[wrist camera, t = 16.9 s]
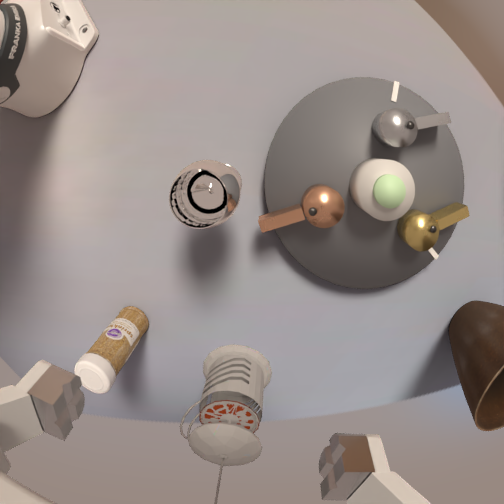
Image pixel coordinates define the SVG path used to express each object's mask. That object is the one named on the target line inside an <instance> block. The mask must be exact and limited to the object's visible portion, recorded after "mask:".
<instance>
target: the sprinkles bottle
mask: <svg viewBox="0 0 504 504" xmlns="http://www.w3.org/2000/svg"><path fill="white" fill-rule="evenodd" d="M148 325H149V323H148V319H147V317H146V315H145V314H144V313H143V312H142V311H141V310H139V309H137V308H136V307H131V306H129V307H125V308H123V309H122V310H121V311H120V313H119V315H118V316H117V317H116V318H115V319H114V320H113V321H112V322H111V323H110V324H109V326H108V327H107V328H106V329H105V330H104V332H103V333H102V334H101V336H100V337H99V338H98V340H97V341H96V342H95V343H94V345H93V346H92V347H91V348H90V349H89V351H88V352H87V353H85V354H84V355H83V356H82V357H81V358H80V359H79V361H78V362H77V363H76V365H75V369H74V370H75V375H77V376H79V377H81V382H82V385H83V386H84V387H85V388H86V389H88V390H90V391H92V392H94V393H98V394H103V393H106V392H108V391H109V389H110V388H111V387H112V385H113V383H114V382H115V379H116V376H117V374H118V373H119V371H120V369H121V368H122V366H124V364H125V363H126V361H127V360H128V358H129V357H130V355H131V354H132V352H133V350H134V349H135V347H136V346H137V344H138V343H139V341H140V338H141V337H142V335H143V334H144V333H145V332H146V330H147V329H148Z"/></svg>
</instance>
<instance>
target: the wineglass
mask: <svg viewBox="0 0 504 504" xmlns="http://www.w3.org/2000/svg"><path fill="white" fill-rule="evenodd" d="M241 187H242V180H241V177H240V174H239V173H238V171H237V170H236V169H235V168H234V167H232V166H231V165H228V164H223V163H221V162H218V161H214V160H201V161H196V162H194V163H192V164H190V165H188V166H187V167H185V168H184V169H183V170H182V171H181V172H180V173H179V174H178V175H177V177H176V178H175V180H174V181H173V183H172V186H171V189H170V194H169V204H170V208H171V210H172V213H173V214H174V216H175V217H176V218H177V219H178V221H180V222H181V223H182V224H184V225H186V226H188V227H190V228H194V229H208V228H213V227H216V226H218V225H220V224H222V223H224V222H225V221H227V220H228V219H229V218H230V217H231V216H232V215H233V213H234V212H235V211H236V209H237V207H238V204H239V201H240V190H241Z"/></svg>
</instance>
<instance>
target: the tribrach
mask: <svg viewBox="0 0 504 504" xmlns="http://www.w3.org/2000/svg"><path fill="white" fill-rule="evenodd" d="M393 108H402V109H405V110H407V111H408V112H409V113H411V114H412V116H413V117H414V118H417V117H422V116H428V115H433V114H439V113H438V112H437V111H436V110H435V109H434V108H433V107H432V106H431V105H430V104H429V103H428V102H427V101H425V100H424V99H423V98H422V97H421V96H419V95H418V94H416V93H414V92H413V91H411V90H410V89H408V88H406V87H403V86H401V85H399V82H396V81H394V82H390V81H387V80H383V79H377V78H370V77H356V78H349V79H342V80H339V81H336V82H332V83H329V84H327V85H325V86H323V87H321V88H319V89H316V90H315V91H313V92H312V93H310V94H309V95H307V96H306V97H304V98H303V99H302V100H301V101H300V102H299V103H298V104H297V105H296V106H294V107H293V109H292V110H291V111H290V112H289V113H288V115H287V116H286V117H285V118H284V120H283V122H282V123H281V125H280V126H279V128H278V130H277V132H276V134H275V136H274V138H273V141H272V143H271V146H270V149H269V153H268V156H267V161H266V168H265V196H266V204H267V208H268V211H269V213H271V212H274V211H277V210H280V209H283V208H287V207H290V206H293V205H296V204H300V206H301V199H302V196H303V194H304V192H305V191H306V190H307V189H308V188H309V187H310V186H312V185H315V184H324V185H327V186H329V187H331V188H332V189H334V190H336V191H337V192H338V193H339V194H340V195H341V197H342V198H343V201H344V205H345V209H344V214H343V216H342V218H341V220H340V221H339V222H338V223H337V224H336V225H334V226H332V227H329V228H319V227H316V226H314V225H312V224H311V223H310V222H309V221H308V220H307V218H306V216H305V214H304V212H303V214H304V217H305V220H302V221H299V222H296V223H292V224H289V225H286V226H283V227H279V228H276V229H275V231H276V233H277V234H278V236H279V238H280V240H281V242H282V243H283V245H284V246H285V247H286V249H287V250H288V251H289V253H290V254H291V255H292V256H293V257H294V258H295V259H296V260H297V261H298V262H299V263H300V264H301V265H302V266H304V267H305V268H306V269H307V270H309V271H310V272H311V273H313V274H315V275H316V276H318V277H320V278H322V279H324V280H326V281H329V282H331V283H333V284H337V285H340V286H344V287H349V288H357V289H373V288H380V287H385V286H389V285H393V284H396V283H399V282H401V281H403V280H406V279H408V278H410V277H411V276H413V275H415V274H417V273H418V272H419V271H421V270H422V269H423V268H425V267H426V266H427V265H428V264H429V263H431V262H432V261H433V260H434V259H435V260H436V259H437V258H438V257H439V256H438V254H439V253H440V252H441V250H442V249H443V248H444V247H445V245H446V243H447V242H448V240H449V239H450V237H451V235H452V233H453V231H454V229H455V227H456V224H457V222H456V223H454V224H452V225H450V226H448V227H446V228H444V229H442V230H439V237H438V240H437V242H436V243H435V245H434V246H433V247H432V248H430V249H429V250H427V251H417V250H415V249H413V248H412V247H411V246H409V245H408V244H407V243H405V242H404V241H403V240H402V239H401V238H400V237H399V235H398V231H397V225H398V221H399V219H400V217H402V216H403V215H404V214H405V213H406V212H407V211H408V210H411V209H416V210H419V211H421V212H424V213H426V214H428V215H429V214H431V213H433V212H435V211H437V210H440V209H442V208H444V207H446V206H448V205H450V204H453V203H455V202H458V203H460V204H462V203H463V195H464V173H463V166H462V160H461V156H460V153H459V149H458V146H457V144H456V141H455V139H454V137H453V135H452V133H451V131H450V129H449V127H448V126H447V124H443V125H438V126H433V127H428V128H423V129H418V130H417V136H416V139H415V140H414V142H413V143H412V144H410V145H409V146H406V147H387V146H384V145H382V144H381V143H379V142H378V141H377V139H376V138H375V136H374V134H373V129H372V125H373V121H374V118H375V117H376V116H377V115H378V114H379V113H381V112H383V111H386V110H389V109H393Z"/></svg>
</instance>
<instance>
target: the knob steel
mask: <svg viewBox="0 0 504 504" xmlns="http://www.w3.org/2000/svg"><path fill="white" fill-rule="evenodd" d="M448 123H451V120H450V116H449V112H445V113H439V114H433V115H428V116H422V117H417V118H414V117H413V116H412V114H411V113H409V112H408V111H407V110H405V109H402V108H393V109H389V110H386V111H383V112H381V113H379V114H378V115H377V116H376V117H375V118H374V121H373V125H372V129H373V134H374V136H375V138H376V139H377V141H378V142H379V143H381V144H382V145H384V146H387V147H406V146H409V145H410V144H412V143H413V142H414V140H415V139H416V136H417V130H418V129H423V128H428V127H433V126H438V125H443V124H448Z"/></svg>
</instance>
